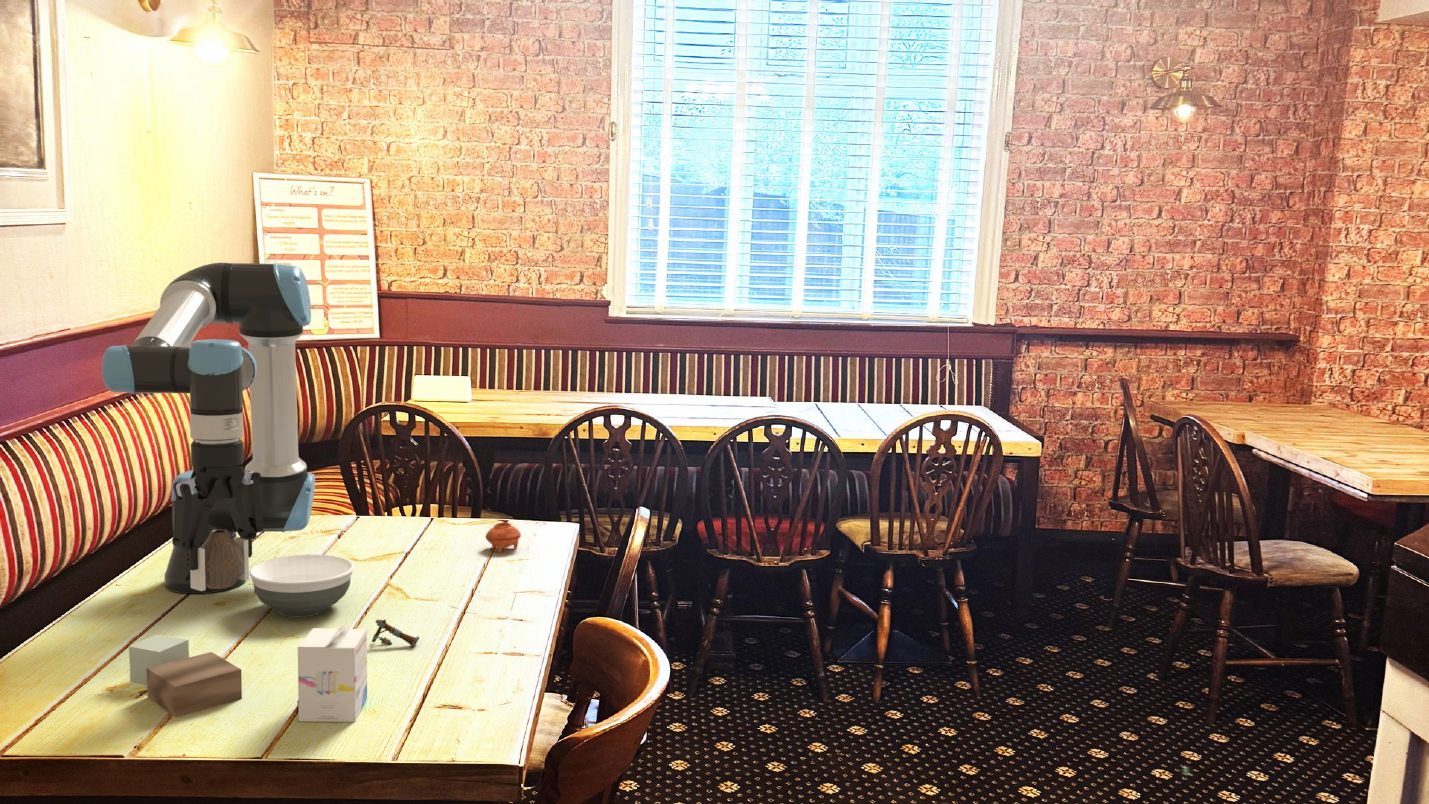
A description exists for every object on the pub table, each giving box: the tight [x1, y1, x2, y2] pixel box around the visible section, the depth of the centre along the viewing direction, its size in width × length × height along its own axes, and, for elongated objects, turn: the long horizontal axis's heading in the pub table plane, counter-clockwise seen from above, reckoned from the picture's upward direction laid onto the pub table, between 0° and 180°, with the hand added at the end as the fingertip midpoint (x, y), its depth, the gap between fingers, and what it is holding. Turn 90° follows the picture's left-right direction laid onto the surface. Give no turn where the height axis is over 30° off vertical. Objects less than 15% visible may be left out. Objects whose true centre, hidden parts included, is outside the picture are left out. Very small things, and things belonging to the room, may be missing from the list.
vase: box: [200, 529, 243, 589], centre depth 179 cm, size 7×7×9 cm
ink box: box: [297, 618, 368, 723], centre depth 171 cm, size 9×8×13 cm
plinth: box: [146, 651, 243, 718], centre depth 175 cm, size 10×10×5 cm
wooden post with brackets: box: [371, 618, 420, 649], centre depth 200 cm, size 2×8×4 cm, turn 85°
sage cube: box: [128, 634, 190, 687], centre depth 181 cm, size 6×6×6 cm
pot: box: [485, 521, 522, 554], centre depth 262 cm, size 8×8×7 cm
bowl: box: [249, 554, 355, 618], centre depth 216 cm, size 19×19×8 cm
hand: (220, 583), depth 180 cm, fingers closed on vase, 7 cm apart
